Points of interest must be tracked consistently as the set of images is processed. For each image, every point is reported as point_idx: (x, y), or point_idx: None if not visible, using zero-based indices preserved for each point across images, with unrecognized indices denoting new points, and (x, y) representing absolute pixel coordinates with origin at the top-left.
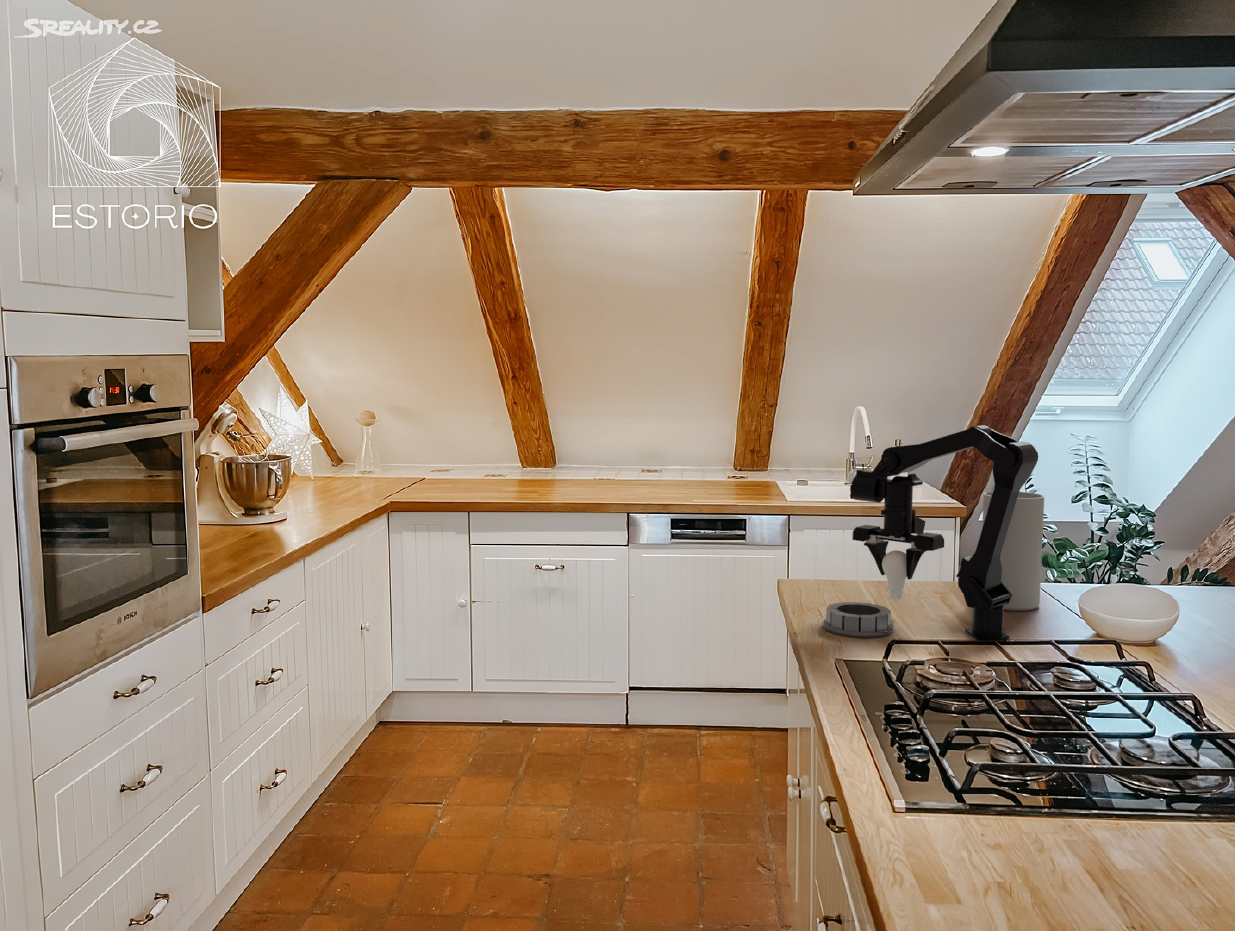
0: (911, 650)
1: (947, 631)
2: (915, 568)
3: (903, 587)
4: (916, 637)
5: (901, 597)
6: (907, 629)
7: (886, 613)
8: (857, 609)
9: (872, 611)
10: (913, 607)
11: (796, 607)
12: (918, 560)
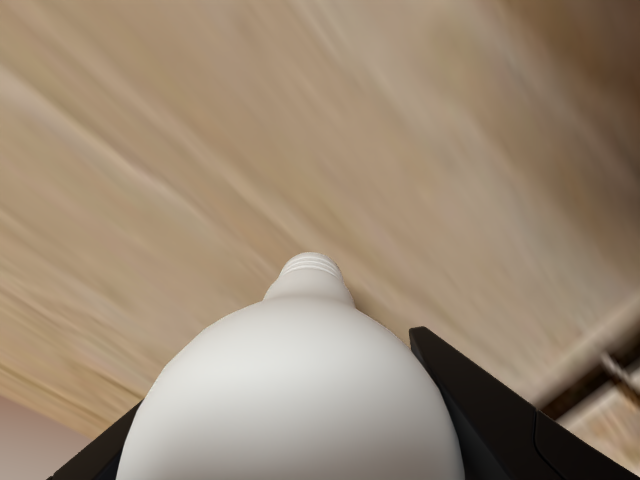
0: None
1: (579, 251)
2: (491, 379)
3: (350, 294)
4: (527, 379)
5: (339, 270)
6: (456, 337)
7: None
8: None
9: None
10: (244, 32)
11: (55, 409)
12: (601, 470)
